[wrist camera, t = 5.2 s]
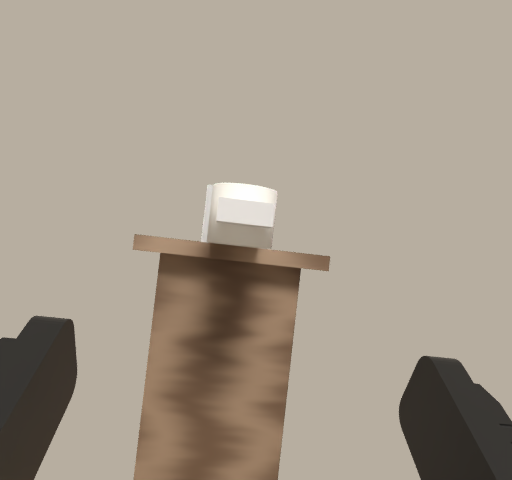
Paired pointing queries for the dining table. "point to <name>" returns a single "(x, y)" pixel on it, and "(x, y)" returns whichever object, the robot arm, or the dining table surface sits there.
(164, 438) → the wooden pedestal stand
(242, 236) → the white cylinder with crossbar
